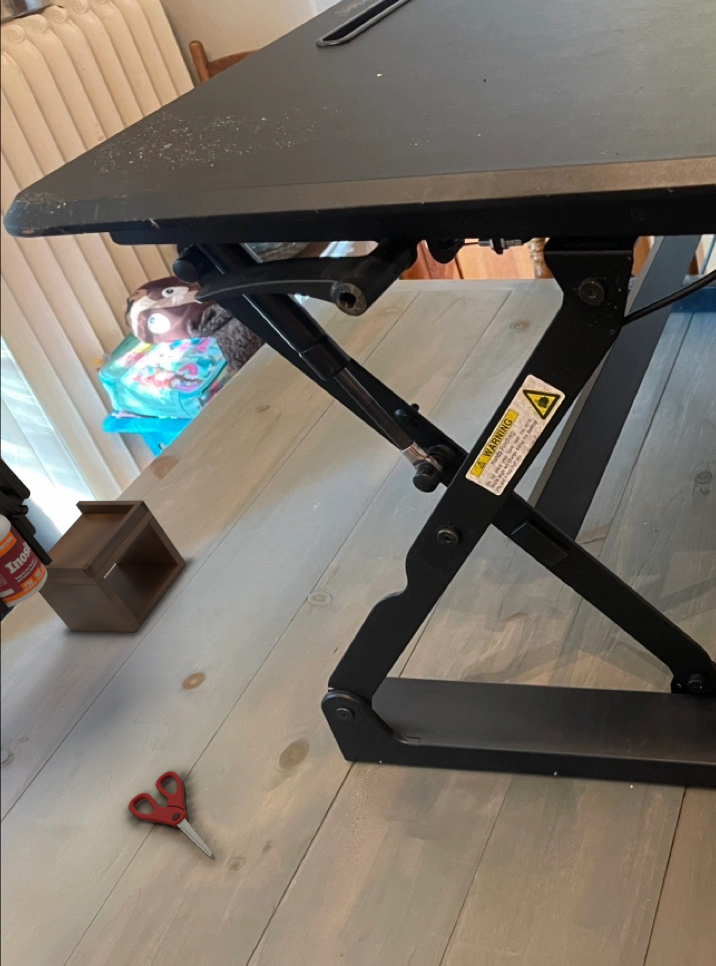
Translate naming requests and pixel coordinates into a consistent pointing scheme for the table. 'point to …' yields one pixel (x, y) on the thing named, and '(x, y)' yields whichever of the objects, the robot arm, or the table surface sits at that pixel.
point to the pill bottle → (18, 567)
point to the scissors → (169, 809)
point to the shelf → (92, 553)
